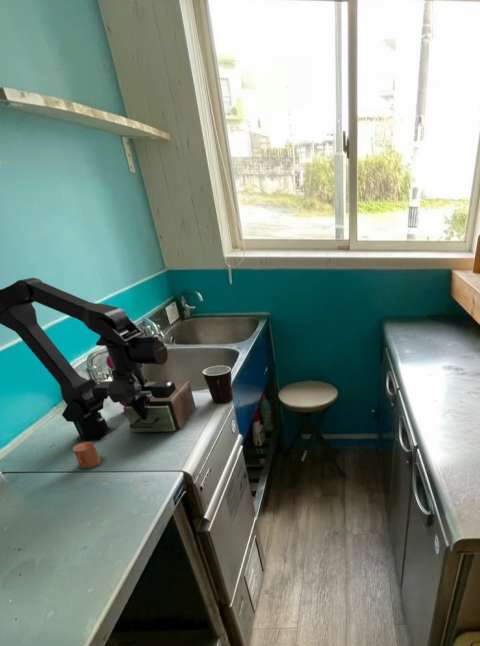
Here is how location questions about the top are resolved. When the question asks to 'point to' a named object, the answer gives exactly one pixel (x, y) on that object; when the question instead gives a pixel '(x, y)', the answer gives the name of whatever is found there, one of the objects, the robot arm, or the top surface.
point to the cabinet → (178, 402)
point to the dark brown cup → (219, 383)
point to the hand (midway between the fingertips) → (145, 419)
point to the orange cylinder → (86, 455)
